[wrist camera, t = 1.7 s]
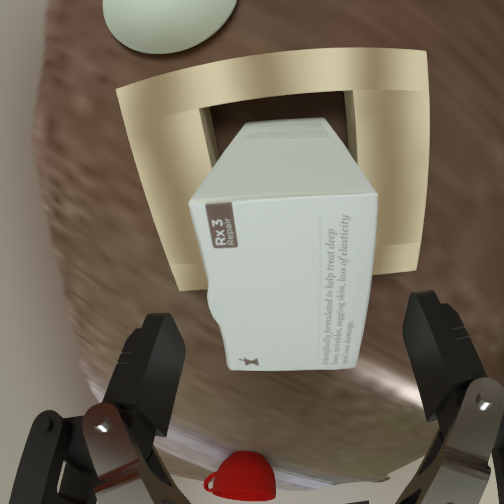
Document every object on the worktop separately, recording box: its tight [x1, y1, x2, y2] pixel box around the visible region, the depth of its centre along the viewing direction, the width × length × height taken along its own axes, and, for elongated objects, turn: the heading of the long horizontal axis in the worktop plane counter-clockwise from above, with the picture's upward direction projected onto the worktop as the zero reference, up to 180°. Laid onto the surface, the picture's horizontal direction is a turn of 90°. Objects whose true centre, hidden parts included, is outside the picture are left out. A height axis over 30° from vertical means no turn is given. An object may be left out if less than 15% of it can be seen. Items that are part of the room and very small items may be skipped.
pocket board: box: [116, 48, 430, 291], centre depth 22 cm, size 20×17×3 cm
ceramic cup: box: [204, 451, 276, 501], centre depth 54 cm, size 13×17×10 cm
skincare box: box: [188, 117, 378, 371], centre depth 17 cm, size 8×6×15 cm
